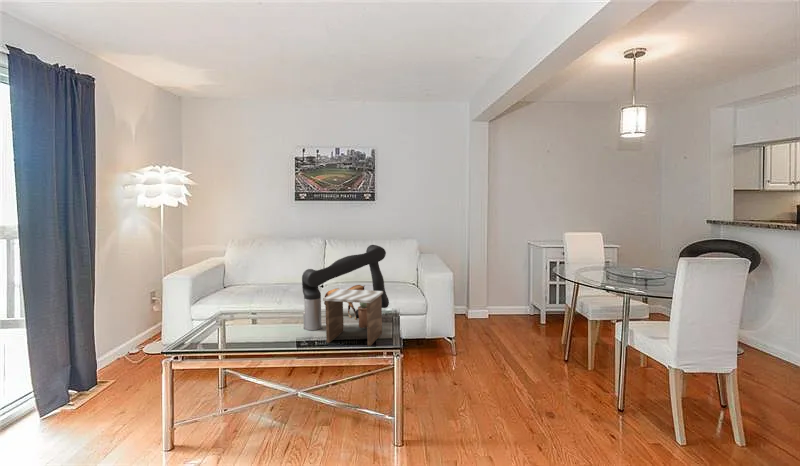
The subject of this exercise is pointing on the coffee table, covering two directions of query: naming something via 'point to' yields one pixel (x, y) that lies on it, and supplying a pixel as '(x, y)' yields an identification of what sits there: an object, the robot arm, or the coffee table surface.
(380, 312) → the side table
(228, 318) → the coffee table surface
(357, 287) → the horse figurine
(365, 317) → the pot
